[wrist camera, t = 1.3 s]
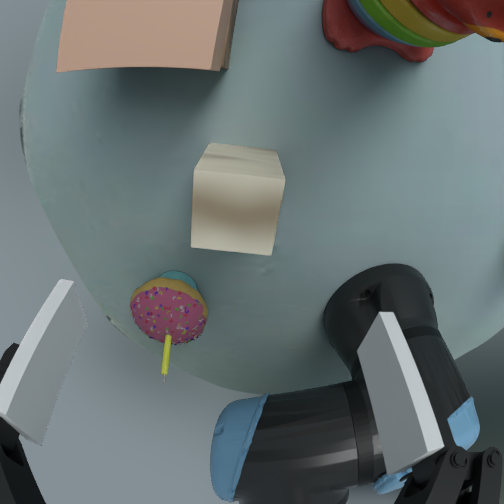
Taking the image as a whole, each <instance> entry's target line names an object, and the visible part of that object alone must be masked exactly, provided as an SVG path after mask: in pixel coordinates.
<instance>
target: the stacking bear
mask: <svg viewBox="0 0 504 504" xmlns="http://www.w3.org/2000/svg"><path fill="white" fill-rule="evenodd" d="M322 21H323V30H324V34H325V37H326V39H327V40H328V41H330V42H332V43H333V45H334V46H335V47H336V48H337V49H339V50H343V49H345V50H347V51H349V52H356V51H359V50H361V49H363V48H365V47H368V46H375V45H378V46H384V47H387V48H390V49H392V50H394V51H395V52H397V53H398V54H399V55H400V56H402V57H403V58H404V59H406V60H407V61H410V62H414V61H416V62H424V61H425V60H426V59H427V58H428V57H430V56H431V55H432V53H433V50H434V47H440V46H444V45H448V44H451V43H454V42H456V41H458V40H460V39H462V38H465V37H467V36H469V35H471V34H473V33H477V34H479V35H480V36H482V37H484V38H486V39H488V40H490V41H493V42H504V0H324V3H323V11H322Z"/></svg>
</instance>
